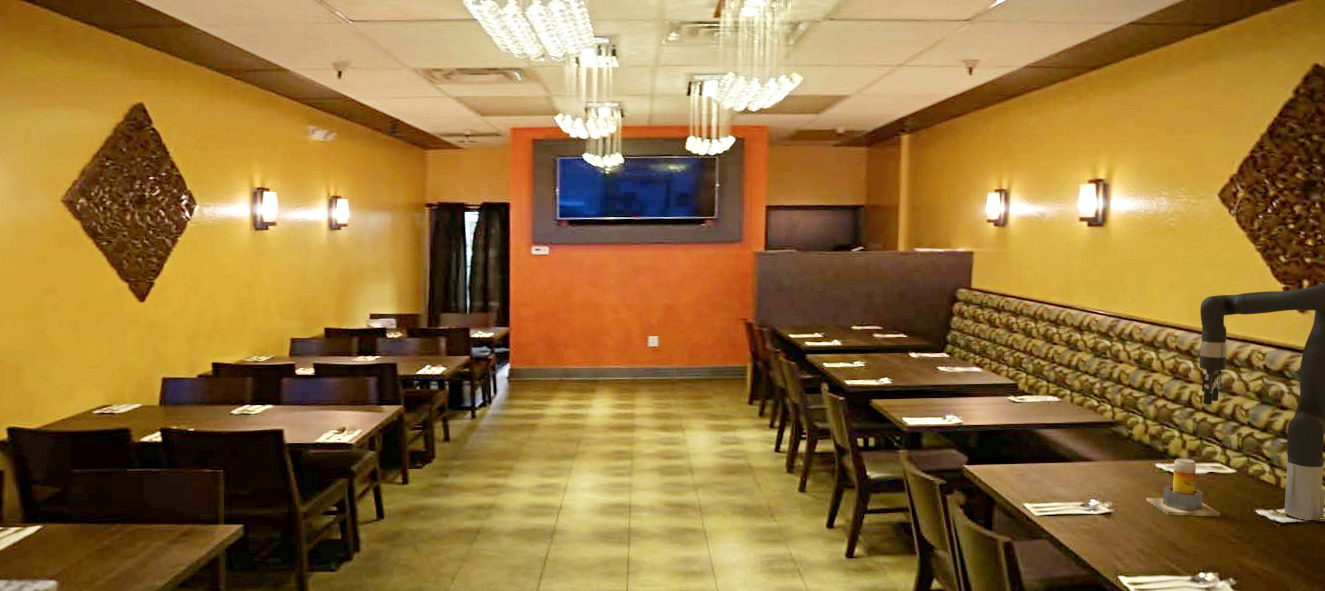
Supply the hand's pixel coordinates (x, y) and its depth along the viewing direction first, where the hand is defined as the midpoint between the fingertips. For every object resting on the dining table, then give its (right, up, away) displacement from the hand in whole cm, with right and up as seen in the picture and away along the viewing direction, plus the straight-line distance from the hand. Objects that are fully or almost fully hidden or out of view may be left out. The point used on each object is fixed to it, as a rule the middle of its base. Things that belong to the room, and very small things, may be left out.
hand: (1210, 402), depth 299 cm
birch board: (-15, -34, -9) cm, 38 cm away
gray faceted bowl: (-15, -34, -9) cm, 38 cm away
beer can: (-15, -33, -9) cm, 37 cm away
